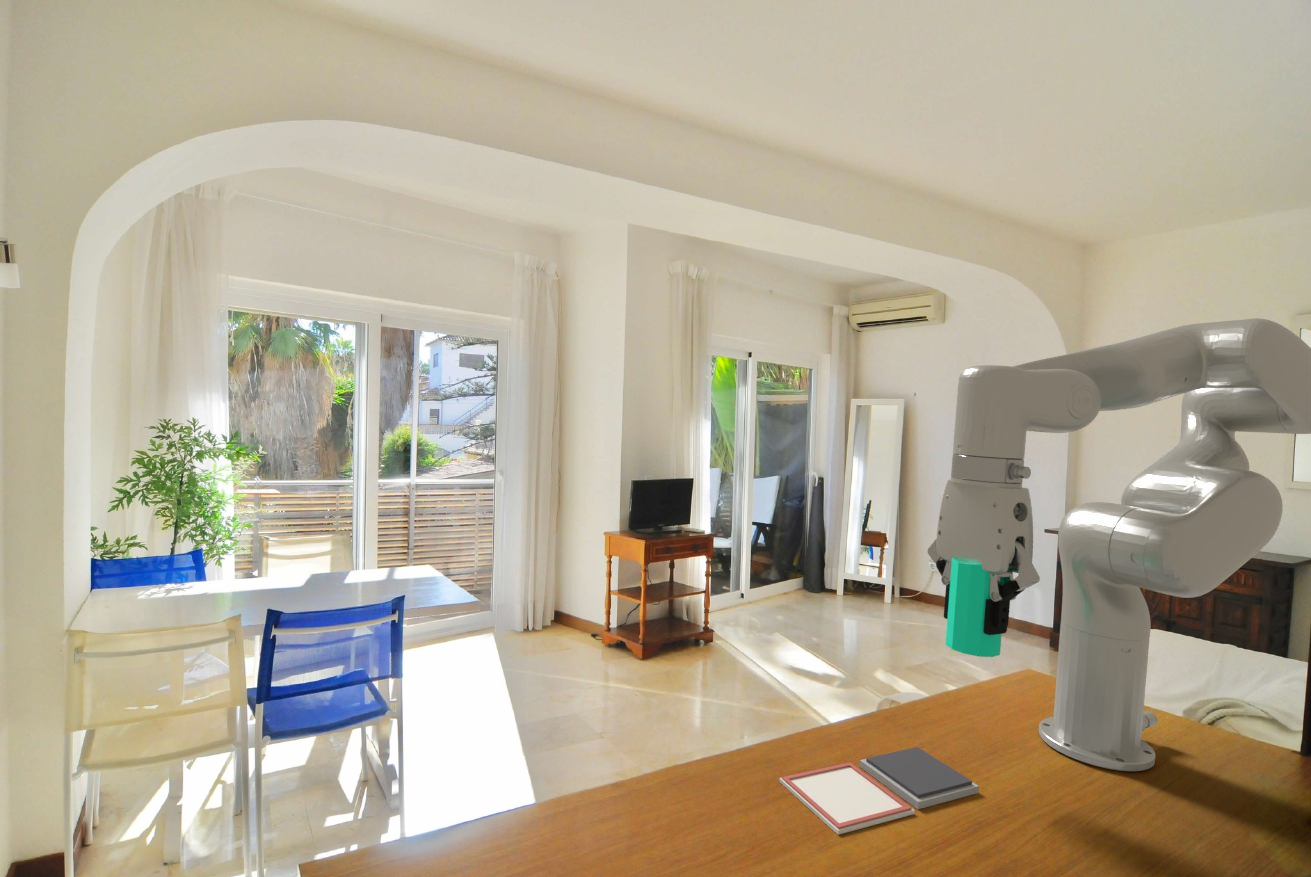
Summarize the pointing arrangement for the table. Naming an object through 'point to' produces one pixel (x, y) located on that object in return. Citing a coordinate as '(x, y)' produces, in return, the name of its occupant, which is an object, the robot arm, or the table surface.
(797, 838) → the table surface
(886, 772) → the ink pad
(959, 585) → the candle
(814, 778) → the marked card
